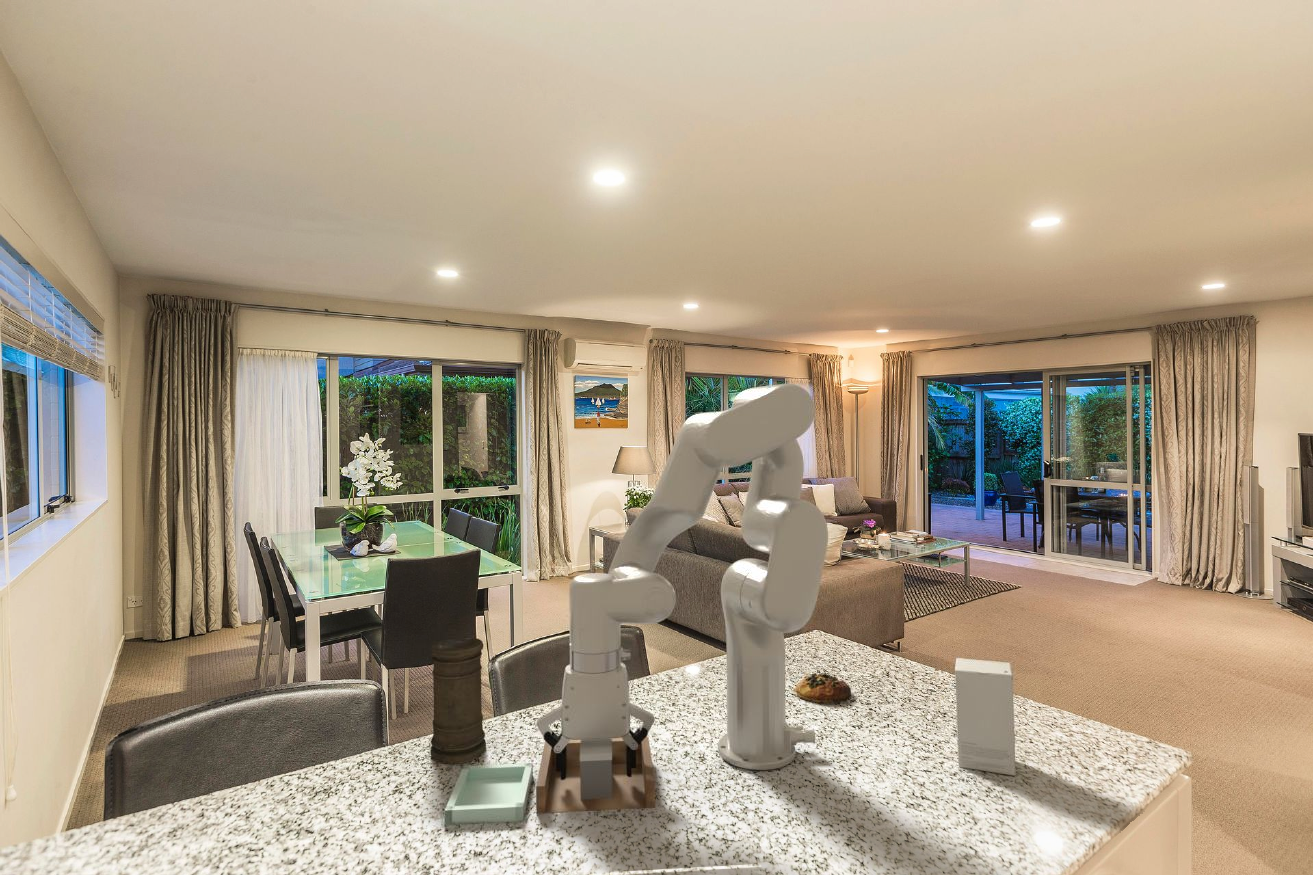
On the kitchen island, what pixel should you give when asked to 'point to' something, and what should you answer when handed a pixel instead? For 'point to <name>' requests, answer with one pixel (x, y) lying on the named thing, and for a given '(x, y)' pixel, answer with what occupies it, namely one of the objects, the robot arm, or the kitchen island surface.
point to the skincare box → (985, 716)
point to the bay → (566, 793)
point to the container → (457, 700)
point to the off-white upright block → (596, 769)
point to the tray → (490, 794)
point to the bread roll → (823, 689)
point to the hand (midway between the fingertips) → (596, 774)
